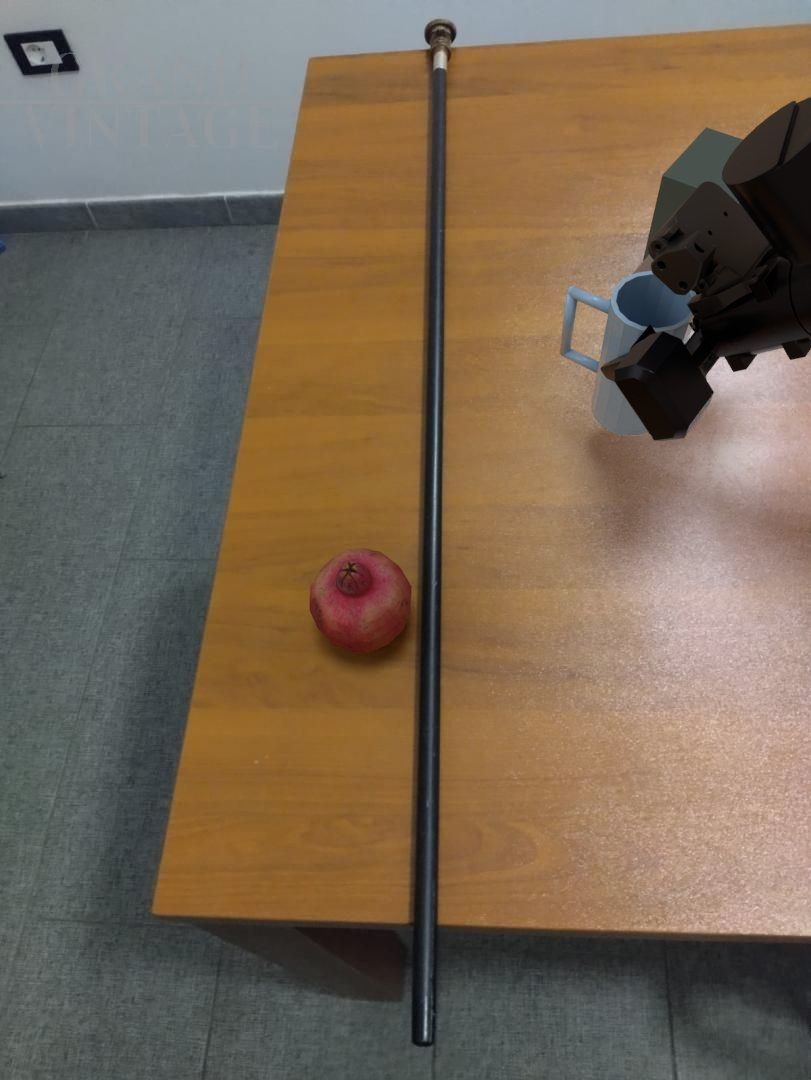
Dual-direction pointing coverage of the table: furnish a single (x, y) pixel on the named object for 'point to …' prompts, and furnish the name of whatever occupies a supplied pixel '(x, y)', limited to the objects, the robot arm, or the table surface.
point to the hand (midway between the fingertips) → (625, 346)
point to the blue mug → (624, 338)
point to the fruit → (360, 600)
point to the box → (690, 178)
